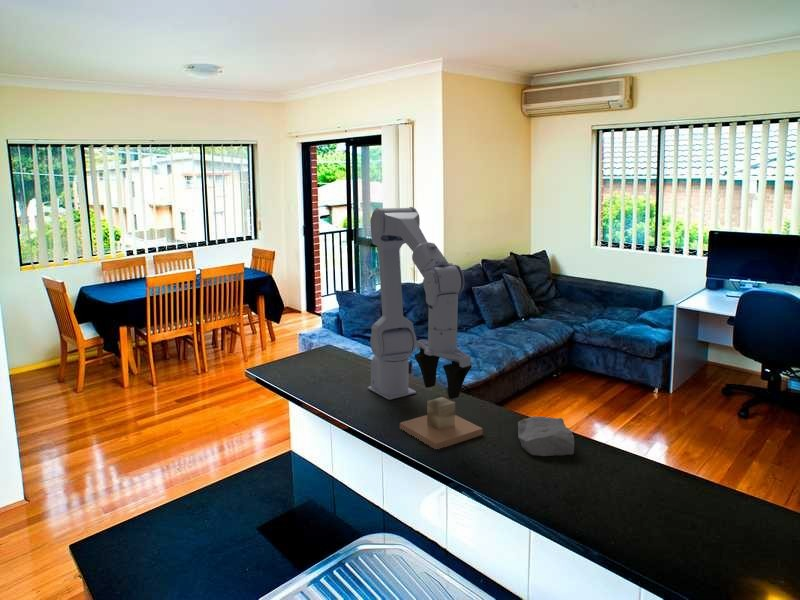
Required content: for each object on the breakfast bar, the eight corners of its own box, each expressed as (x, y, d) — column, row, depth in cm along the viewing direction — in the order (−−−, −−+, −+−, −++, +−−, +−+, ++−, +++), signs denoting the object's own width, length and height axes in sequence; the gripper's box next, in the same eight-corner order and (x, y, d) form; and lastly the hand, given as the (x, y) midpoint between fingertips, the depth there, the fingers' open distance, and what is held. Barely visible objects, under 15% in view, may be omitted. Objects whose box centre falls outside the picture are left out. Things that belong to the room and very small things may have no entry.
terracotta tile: (399, 431, 124) (399, 422, 124) (444, 418, 131) (444, 409, 131) (435, 453, 115) (436, 443, 114) (482, 437, 121) (482, 428, 121)
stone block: (527, 466, 112) (579, 455, 112) (522, 442, 112) (575, 432, 111) (514, 440, 124) (562, 431, 124) (510, 419, 123) (558, 409, 123)
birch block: (427, 424, 123) (427, 401, 122) (442, 419, 125) (442, 396, 124) (439, 430, 120) (440, 407, 119) (454, 425, 122) (455, 402, 121)
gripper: (404, 322, 122) (404, 385, 125) (451, 337, 110) (449, 407, 113) (432, 317, 126) (431, 379, 129) (479, 332, 114) (477, 399, 117)
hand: (441, 391), depth 121 cm, fingers open, 7 cm apart
